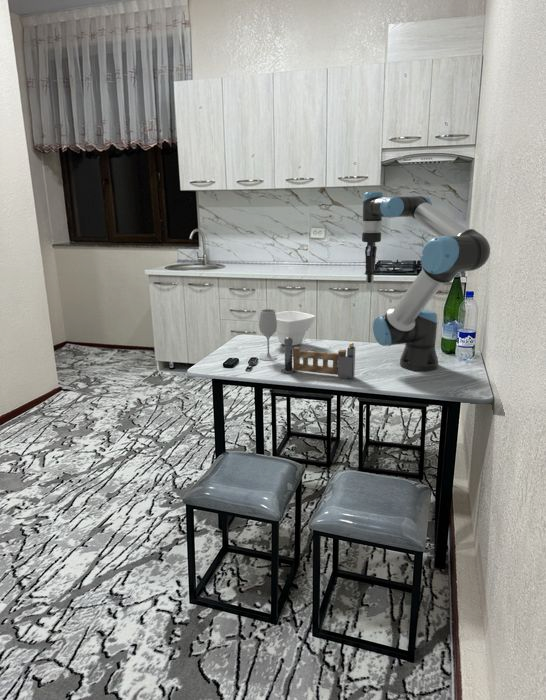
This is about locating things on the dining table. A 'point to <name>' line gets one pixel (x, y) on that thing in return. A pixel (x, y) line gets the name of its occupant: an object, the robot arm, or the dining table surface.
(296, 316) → the bowl
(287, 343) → the hinge post
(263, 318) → the wineglass
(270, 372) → the dining table surface
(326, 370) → the gate
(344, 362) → the stile post
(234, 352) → the dining table surface
